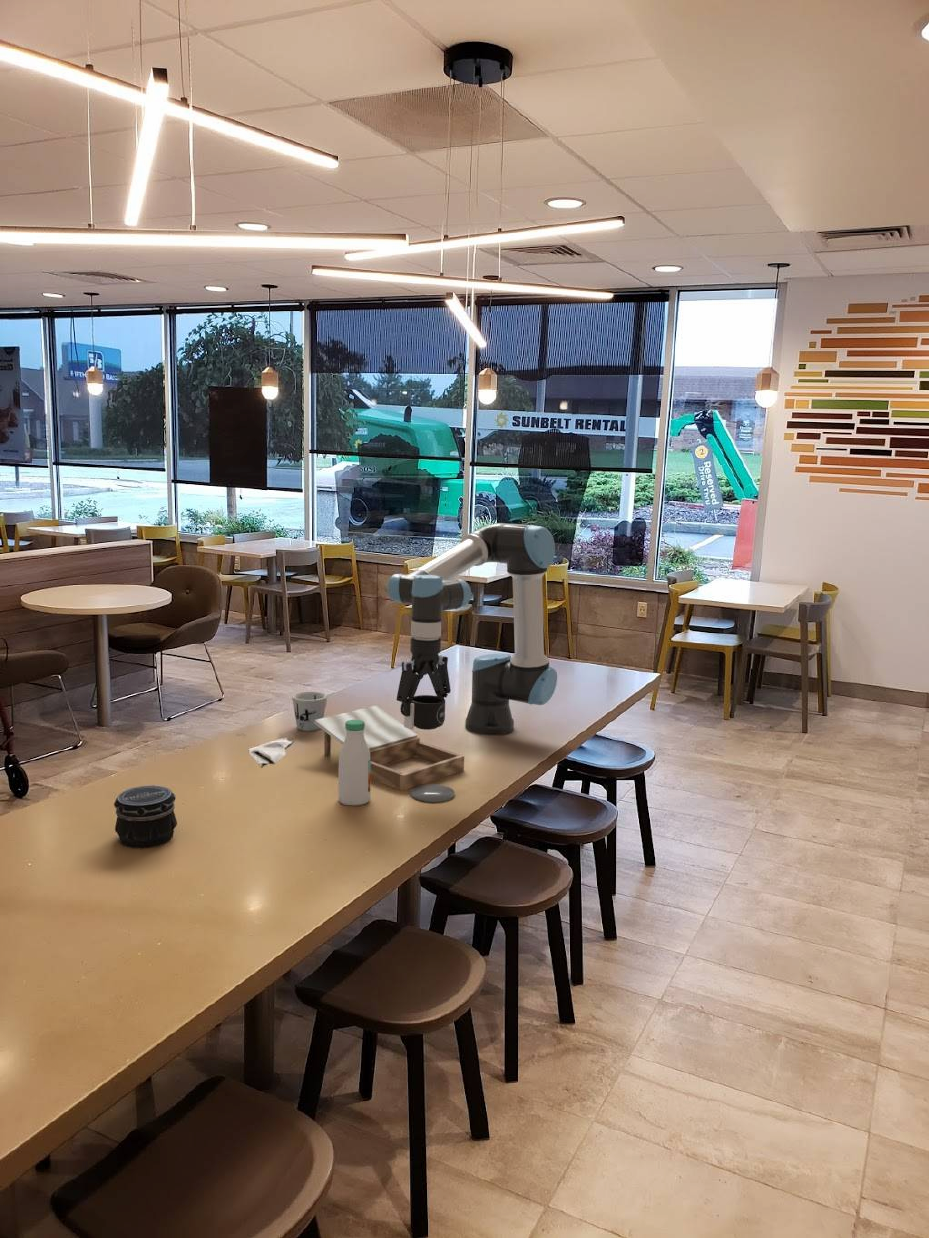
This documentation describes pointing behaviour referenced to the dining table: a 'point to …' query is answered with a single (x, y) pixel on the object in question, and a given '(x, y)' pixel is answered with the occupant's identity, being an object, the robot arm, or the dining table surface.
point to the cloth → (269, 751)
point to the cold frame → (392, 748)
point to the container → (145, 816)
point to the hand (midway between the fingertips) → (423, 724)
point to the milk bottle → (354, 766)
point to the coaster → (432, 793)
